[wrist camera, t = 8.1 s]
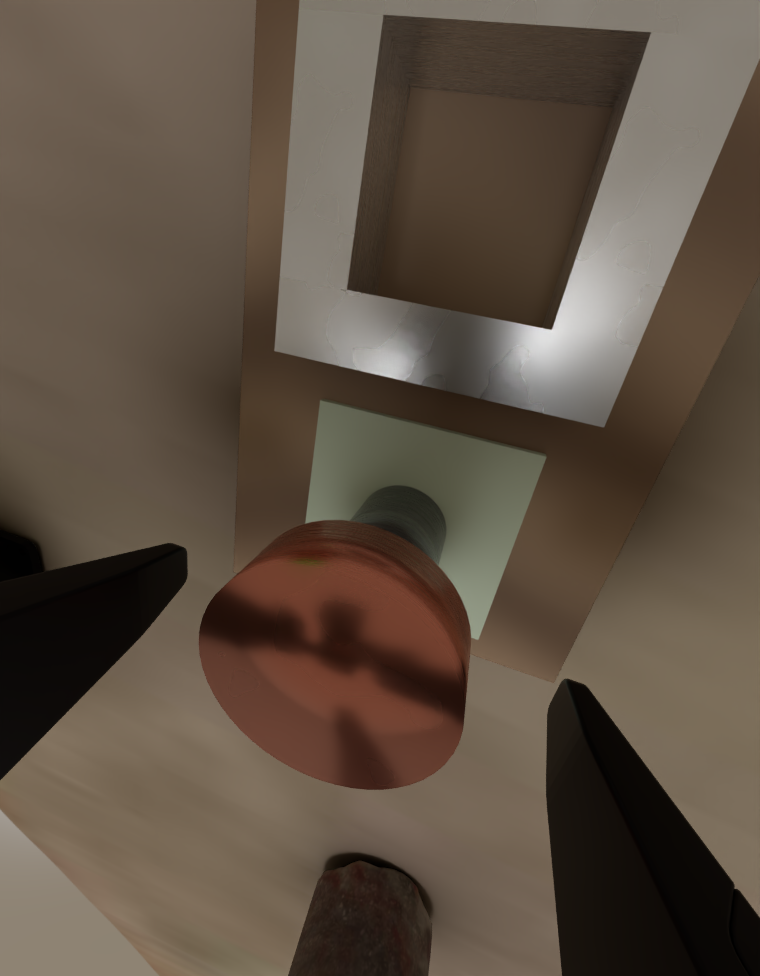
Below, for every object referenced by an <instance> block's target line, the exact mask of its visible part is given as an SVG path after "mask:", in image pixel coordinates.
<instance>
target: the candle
mask: <svg viewBox="0 0 760 976" xmlns="http://www.w3.org/2000/svg"><path fill="white" fill-rule="evenodd" d="M431 940H432V923H431V921H430V919H429V915H428V912H427V911H426V909H425V907H424V905H423V902H422V900H421V897H420V895H419V892H418V888H417V886H416V885H415V884H414V883H413V882H412V881H411V880H410V879H409V878H408V877H407V876H406V875H404V874H403V873H401V872H398V871H396V870H395V869H391V868H385V867H383V868H379V867H377V866H374V865H372V864H369V863H366V862H364V861H357V862H353V863H351V864H349V865H347V866H346V867H340V868H337V869H335V870H328V871H325V872H324V873H323V875H322V876H321V877H320V878H319V880H318V883H317V886H316V889H315V891H314V894H313V897H312V901H311V904H310V907H309V910H308V914H307V917H306V920H305V923H304V926H303V929H302V933H301V936H300V939H299V942H298V945H297V949H296V952H295V955H294V958H293V962H292V965H291V968H290V971H289V975H288V976H428V971H429V962H430V953H431Z"/></svg>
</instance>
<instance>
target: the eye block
mask: <svg viewBox="0 0 760 976" xmlns="http://www.w3.org/2000/svg"><path fill="white" fill-rule="evenodd" d="M759 59H760V0H299V14H298V28H297V42H296V56H295V70H294V84H293V98H292V112H291V126H290V140H289V154H288V168H287V182H286V196H285V210H284V224H283V238H282V252H281V266H280V280H279V294H278V308H277V322H276V336H275V350H274V351H277V352H281V353H285V354H290V355H294V356H298V357H302V358H307V359H311V360H315V361H320V362H324V363H328V364H333V365H337V366H341V367H346V368H350V369H354V370H358V371H363V372H367V373H371V374H376V375H380V376H384V377H389V378H393V379H397V380H401V381H406V382H410V383H414V384H419V385H423V386H427V387H432V388H436V389H440V390H444V391H449V392H453V393H457V394H462V395H466V396H470V397H475V398H479V399H483V400H487V401H492V402H496V403H500V404H505V405H509V406H513V407H518V408H522V409H526V410H530V411H535V412H539V413H543V414H548V415H552V416H556V417H561V418H565V419H569V420H573V421H578V422H582V423H586V424H591V425H595V426H599V427H604V426H605V424H606V422H607V419H608V417H609V415H610V412H611V410H612V408H613V405H614V403H615V400H616V398H617V396H618V393H619V391H620V389H621V386H622V384H623V381H624V379H625V377H626V374H627V372H628V370H629V367H630V365H631V363H632V360H633V358H634V355H635V353H636V351H637V348H638V346H639V344H640V341H641V339H642V336H643V334H644V332H645V329H646V327H647V325H648V322H649V320H650V317H651V315H652V313H653V310H654V308H655V306H656V303H657V301H658V299H659V296H660V294H661V291H662V289H663V287H664V284H665V282H666V280H667V277H668V275H669V272H670V270H671V268H672V265H673V263H674V261H675V258H676V256H677V253H678V251H679V249H680V246H681V244H682V242H683V239H684V237H685V235H686V232H687V230H688V227H689V225H690V223H691V220H692V218H693V216H694V213H695V211H696V208H697V206H698V204H699V201H700V199H701V197H702V194H703V192H704V190H705V187H706V185H707V182H708V180H709V178H710V175H711V173H712V171H713V168H714V166H715V163H716V161H717V159H718V156H719V154H720V152H721V149H722V147H723V144H724V142H725V140H726V137H727V135H728V133H729V130H730V128H731V126H732V123H733V121H734V118H735V116H736V114H737V111H738V109H739V107H740V104H741V102H742V99H743V97H744V95H745V92H746V90H747V88H748V85H749V83H750V81H751V78H752V76H753V73H754V71H755V69H756V66H757V64H758V62H759ZM411 88H417V89H427V90H437V91H447V92H457V93H468V94H478V95H488V96H498V97H508V98H518V99H528V100H539V101H549V102H559V103H569V104H579V105H589V106H599V107H609V108H613V109H612V112H611V115H610V118H609V121H608V124H607V128H606V131H605V134H604V137H603V140H602V143H601V146H600V149H599V152H598V155H597V158H596V162H595V165H594V168H593V171H592V174H591V177H590V180H589V183H588V186H587V189H586V193H585V196H584V199H583V202H582V205H581V208H580V211H579V214H578V217H577V220H576V223H575V227H574V230H573V233H572V236H571V239H570V242H569V245H568V248H567V251H566V254H565V257H564V261H563V264H562V267H561V270H560V273H559V276H558V279H557V282H556V285H555V288H554V292H553V295H552V298H551V301H550V304H549V307H548V310H547V313H546V316H545V319H544V322H543V326H542V328H539V327H534V326H529V325H524V324H519V323H514V322H508V321H503V320H498V319H493V318H488V317H483V316H478V315H473V314H468V313H463V312H457V311H452V310H447V309H442V308H437V307H432V306H427V305H422V304H417V303H412V302H406V301H401V300H396V299H391V298H386V297H381V296H377V293H378V286H379V280H380V274H381V268H382V262H383V256H384V249H385V243H386V237H387V231H388V225H389V219H390V212H391V206H392V200H393V194H394V188H395V182H396V175H397V169H398V163H399V157H400V151H401V145H402V138H403V132H404V126H405V120H406V114H407V108H408V101H409V95H410V89H411Z"/></svg>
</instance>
